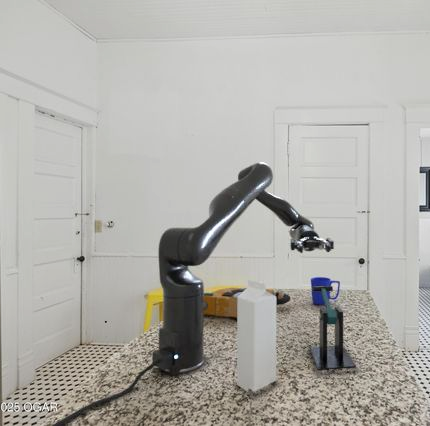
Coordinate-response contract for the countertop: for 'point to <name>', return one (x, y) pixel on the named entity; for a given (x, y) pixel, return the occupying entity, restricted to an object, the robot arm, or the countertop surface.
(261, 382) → the milk
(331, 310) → the lever
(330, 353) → the bracket
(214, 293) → the device
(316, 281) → the mug
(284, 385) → the countertop surface
